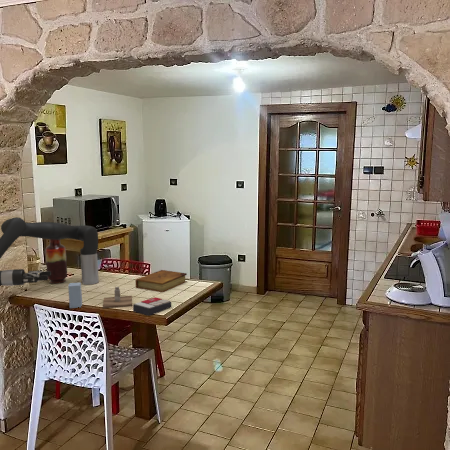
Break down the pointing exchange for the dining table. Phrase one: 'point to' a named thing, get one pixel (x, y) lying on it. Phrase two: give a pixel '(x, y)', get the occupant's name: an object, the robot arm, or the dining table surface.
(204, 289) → the dining table surface
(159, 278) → the diary
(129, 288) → the dining table surface
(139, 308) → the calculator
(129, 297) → the post stand
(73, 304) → the blue-grey rectangular block
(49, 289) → the dining table surface
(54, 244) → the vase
